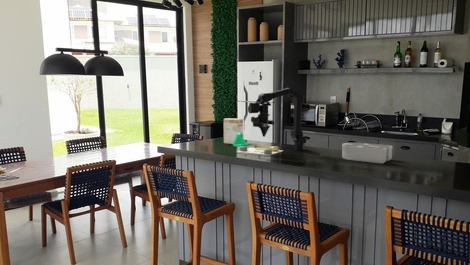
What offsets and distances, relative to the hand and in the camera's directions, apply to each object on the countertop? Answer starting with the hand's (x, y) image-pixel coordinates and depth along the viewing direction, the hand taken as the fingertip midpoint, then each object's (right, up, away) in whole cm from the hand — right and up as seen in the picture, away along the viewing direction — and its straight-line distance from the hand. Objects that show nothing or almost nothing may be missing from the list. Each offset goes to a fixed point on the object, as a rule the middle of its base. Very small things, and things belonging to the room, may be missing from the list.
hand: (263, 136), depth 266 cm
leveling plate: (-2, -11, +6) cm, 13 cm away
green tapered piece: (-14, -8, +35) cm, 38 cm away
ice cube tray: (+60, -14, -17) cm, 64 cm away
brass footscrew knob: (+2, -9, +10) cm, 13 cm away
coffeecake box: (-20, -6, +51) cm, 55 cm away
